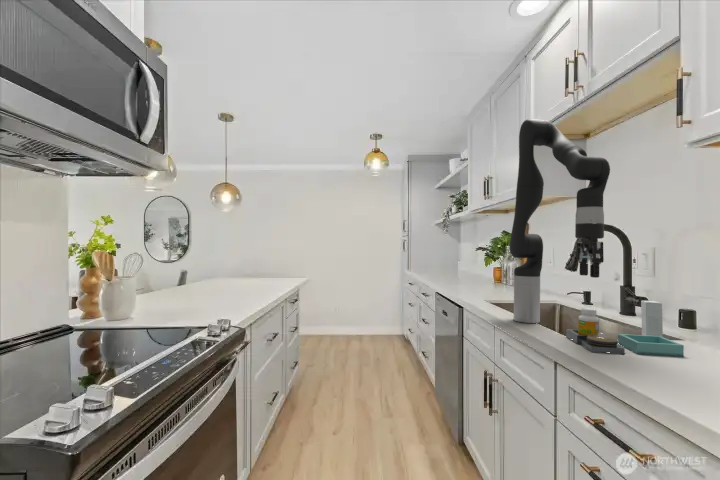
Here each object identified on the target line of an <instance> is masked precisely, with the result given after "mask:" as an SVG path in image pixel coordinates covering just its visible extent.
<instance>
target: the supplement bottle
mask: <svg viewBox="0 0 720 480" xmlns="http://www.w3.org/2000/svg"><path fill="white" fill-rule="evenodd" d="M580 309H581V310H580V312H581V315H579V316H578V323H577V324H578V327H577V328H578V329H577V330H578V334H580V335H588V334H598V332H599V331H600V319H599V317H598V316H597V309H595V308H590V307H581V308H580Z"/></svg>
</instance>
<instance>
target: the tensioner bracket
mask: <svg viewBox="0 0 720 480" xmlns="http://www.w3.org/2000/svg"><path fill="white" fill-rule="evenodd" d="M565 330H566V331H565V332H566V334H565V335H566V338H567V339H569V340H570V339H573V340H571V341H572V342H573V343H575V344H576V345H580V346H581V347H583V348H584V349H586V350H588V351H589V352H591V353H596V352H610V353H609V354H613V353H620V354H619V355H625V353H626V352H625V350H626V348H625V347H623V346H621V345H619V344H618V337H615V336H613V335H608V334H607V333H606V332H603V331H600V330H599V332H598V334H588V335H580V334H578V329H572V328H566V329H565Z"/></svg>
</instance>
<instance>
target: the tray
mask: <svg viewBox="0 0 720 480" xmlns="http://www.w3.org/2000/svg"><path fill="white" fill-rule="evenodd" d="M617 340H618V343H619V344H620V345H619V344H618V345H619V346H621V345H622V346H621V347H623V346H624V347H623V348H625V349H626V350H628V349H629V351H630V350H631V351H630V352H632V351H633V352H632V353H634V354H636V355H648V356H649V355H650V356H666V357H667V356H668V357H681V358H683V357H684V356H685V355H684V353H685V352H684V351H685V350H684V345H683V344H681V343H678V342H676V341H674V340H671V339H668V338H665V337H664V336H663V337H661V336H649V335H642V334H629V333H628V334H627V333H626V334H625V333H618V334H617Z"/></svg>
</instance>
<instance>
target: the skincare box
mask: <svg viewBox="0 0 720 480" xmlns="http://www.w3.org/2000/svg"><path fill="white" fill-rule="evenodd" d="M640 308H641V310H640V311H641V312H640V313H641V335H649V336H661V337H664V332H663V328H664V326H663V303H662V302H659V301H657V300H641V301H640Z"/></svg>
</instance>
